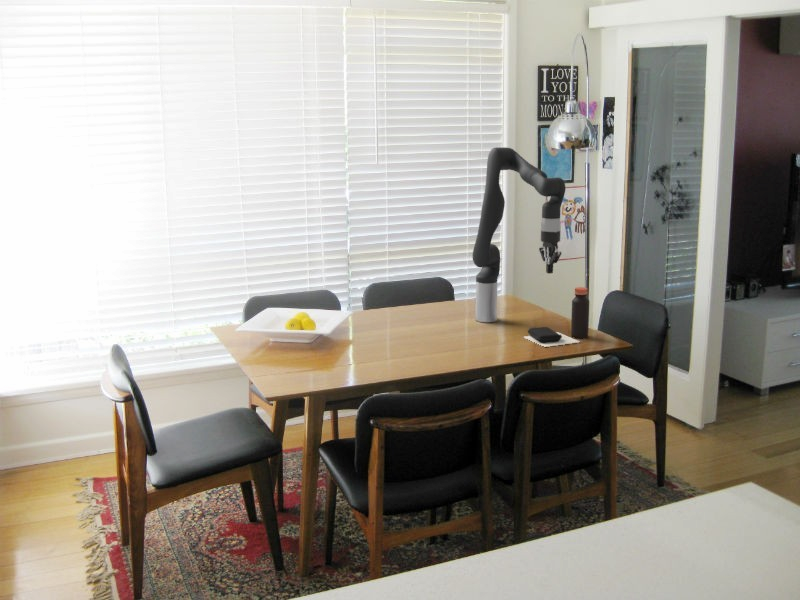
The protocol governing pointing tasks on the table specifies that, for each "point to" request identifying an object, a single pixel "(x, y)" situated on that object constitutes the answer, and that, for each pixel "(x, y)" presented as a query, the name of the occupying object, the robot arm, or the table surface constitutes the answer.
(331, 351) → the table surface
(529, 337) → the cream paper sheet
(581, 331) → the bottle
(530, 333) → the carrying case or bag
